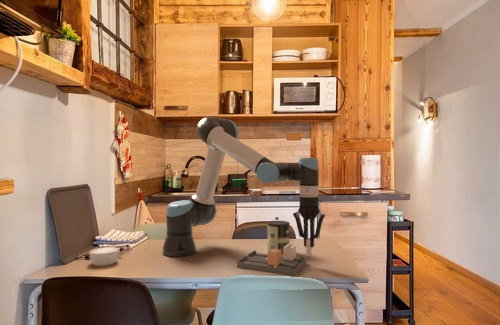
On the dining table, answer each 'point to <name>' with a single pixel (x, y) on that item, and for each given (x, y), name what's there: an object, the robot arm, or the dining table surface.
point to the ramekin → (104, 256)
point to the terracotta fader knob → (274, 257)
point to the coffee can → (278, 234)
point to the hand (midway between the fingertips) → (309, 255)
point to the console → (261, 263)
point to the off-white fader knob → (289, 252)
